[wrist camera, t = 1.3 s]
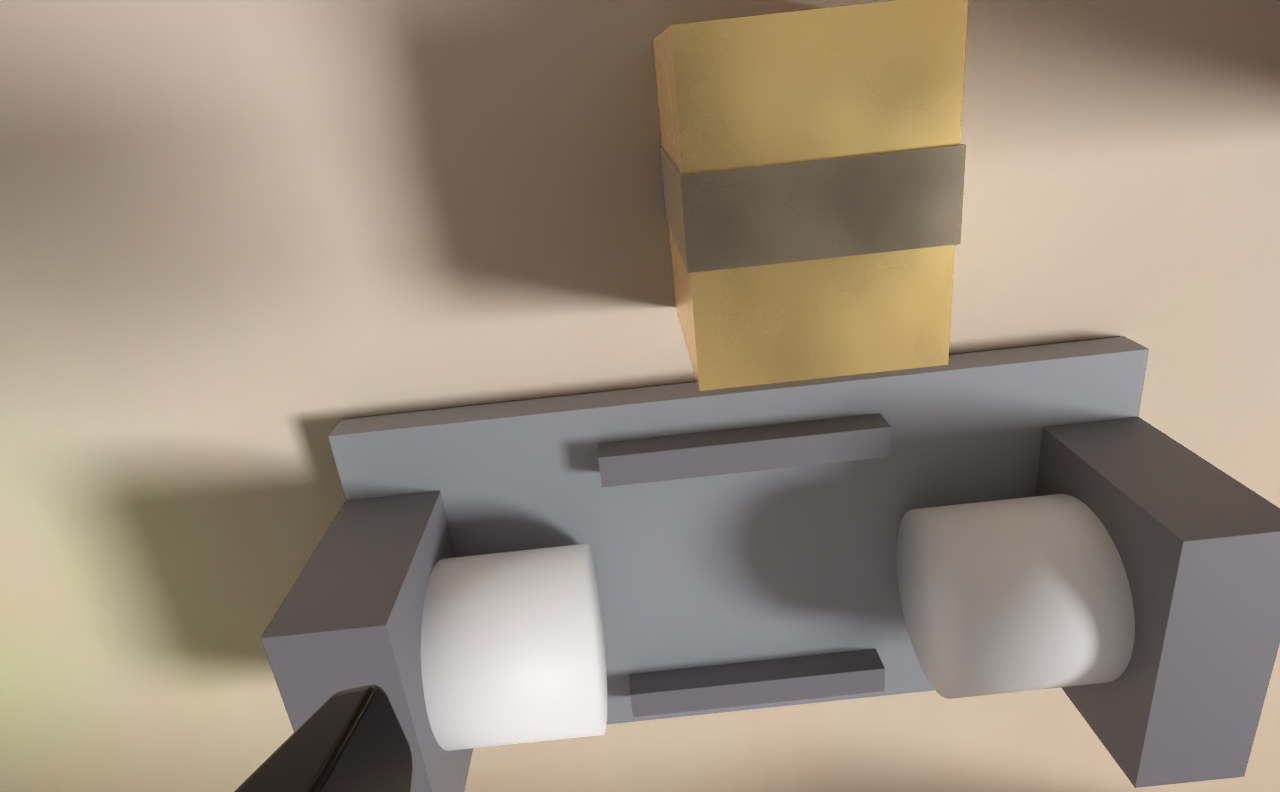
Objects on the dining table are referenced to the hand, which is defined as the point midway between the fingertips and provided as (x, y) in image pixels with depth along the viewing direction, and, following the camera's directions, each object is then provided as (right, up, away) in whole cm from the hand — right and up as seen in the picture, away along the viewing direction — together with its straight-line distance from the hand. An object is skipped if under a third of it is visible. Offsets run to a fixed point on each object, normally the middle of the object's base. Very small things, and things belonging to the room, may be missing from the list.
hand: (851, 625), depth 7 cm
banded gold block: (+1, +7, +11) cm, 13 cm away
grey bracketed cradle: (+1, -2, +14) cm, 15 cm away
